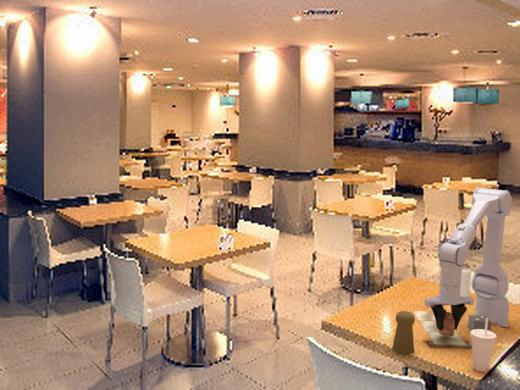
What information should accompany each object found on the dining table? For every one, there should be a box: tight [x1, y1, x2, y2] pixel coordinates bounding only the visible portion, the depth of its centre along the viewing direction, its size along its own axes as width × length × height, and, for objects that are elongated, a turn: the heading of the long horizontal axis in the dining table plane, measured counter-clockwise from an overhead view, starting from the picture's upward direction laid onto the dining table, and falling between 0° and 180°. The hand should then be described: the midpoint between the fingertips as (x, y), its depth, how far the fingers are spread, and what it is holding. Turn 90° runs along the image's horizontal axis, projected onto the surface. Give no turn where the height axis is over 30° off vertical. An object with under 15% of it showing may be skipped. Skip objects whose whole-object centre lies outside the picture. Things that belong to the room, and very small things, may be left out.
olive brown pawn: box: [392, 310, 416, 355], centre depth 155 cm, size 6×6×11 cm
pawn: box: [439, 311, 455, 336], centre depth 162 cm, size 4×4×6 cm
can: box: [460, 263, 472, 297], centre depth 201 cm, size 6×6×12 cm
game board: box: [413, 310, 472, 350], centre depth 171 cm, size 12×27×1 cm, turn 178°
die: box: [467, 314, 492, 332], centre depth 169 cm, size 5×5×5 cm
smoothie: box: [469, 318, 497, 373], centre depth 144 cm, size 6×6×14 cm
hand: (446, 328), depth 162 cm, fingers closed on pawn, 4 cm apart
